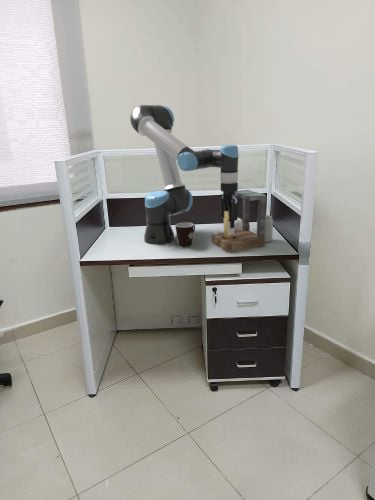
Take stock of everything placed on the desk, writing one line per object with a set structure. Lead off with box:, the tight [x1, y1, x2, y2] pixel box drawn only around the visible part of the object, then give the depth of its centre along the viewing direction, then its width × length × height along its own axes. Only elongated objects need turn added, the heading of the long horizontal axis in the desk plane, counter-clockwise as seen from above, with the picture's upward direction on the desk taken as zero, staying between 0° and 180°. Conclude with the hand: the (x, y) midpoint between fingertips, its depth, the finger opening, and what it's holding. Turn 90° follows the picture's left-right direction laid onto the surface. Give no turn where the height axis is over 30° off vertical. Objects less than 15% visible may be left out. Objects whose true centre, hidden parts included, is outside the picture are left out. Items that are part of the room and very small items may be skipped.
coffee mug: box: [174, 221, 196, 248], centre depth 164 cm, size 12×9×10 cm
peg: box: [225, 211, 233, 240], centre depth 159 cm, size 4×4×14 cm
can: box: [256, 214, 274, 244], centre depth 165 cm, size 8×8×12 cm
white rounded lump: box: [234, 217, 251, 231], centre depth 178 cm, size 9×9×12 cm
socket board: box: [211, 189, 267, 253], centre depth 160 cm, size 16×19×24 cm
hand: (228, 233), depth 160 cm, fingers closed on peg, 4 cm apart
